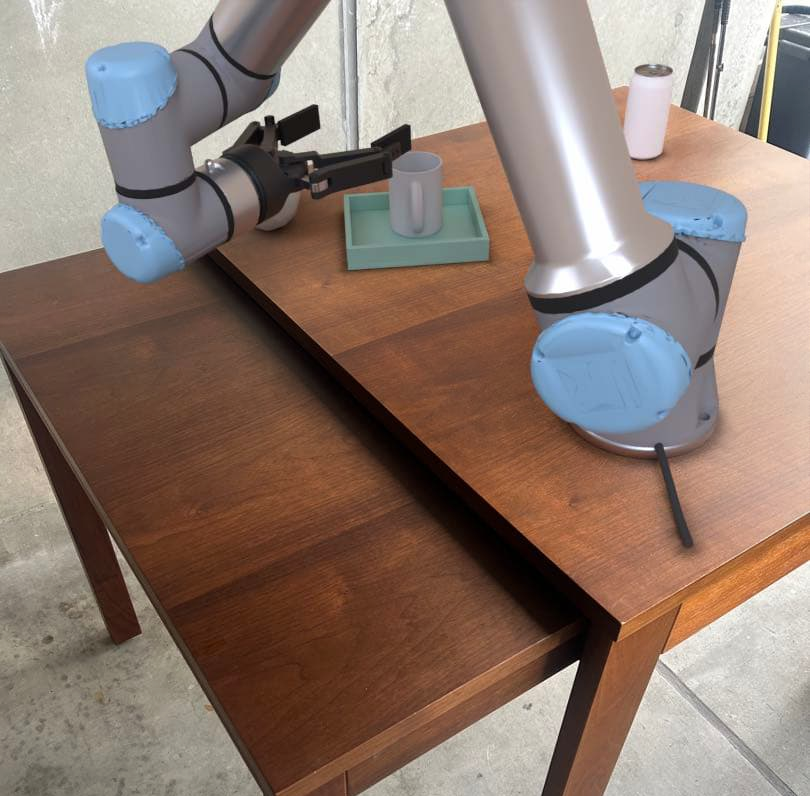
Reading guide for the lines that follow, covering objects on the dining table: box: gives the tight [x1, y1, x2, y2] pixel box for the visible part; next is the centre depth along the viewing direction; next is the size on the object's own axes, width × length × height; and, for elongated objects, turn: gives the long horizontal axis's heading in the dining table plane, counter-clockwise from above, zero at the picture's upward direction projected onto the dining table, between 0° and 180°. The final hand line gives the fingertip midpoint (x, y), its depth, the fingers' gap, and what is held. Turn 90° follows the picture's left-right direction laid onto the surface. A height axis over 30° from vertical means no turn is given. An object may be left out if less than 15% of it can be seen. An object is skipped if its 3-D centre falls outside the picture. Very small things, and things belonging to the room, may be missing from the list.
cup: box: [387, 150, 444, 239], centre depth 116 cm, size 7×10×9 cm
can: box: [622, 63, 675, 161], centre depth 132 cm, size 6×6×12 cm
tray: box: [342, 185, 491, 271], centre depth 118 cm, size 17×19×3 cm
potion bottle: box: [254, 191, 302, 232], centre depth 122 cm, size 9×10×15 cm
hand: (361, 126), depth 101 cm, fingers open, 13 cm apart
